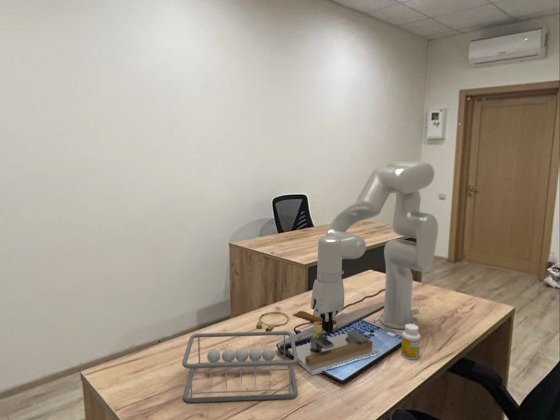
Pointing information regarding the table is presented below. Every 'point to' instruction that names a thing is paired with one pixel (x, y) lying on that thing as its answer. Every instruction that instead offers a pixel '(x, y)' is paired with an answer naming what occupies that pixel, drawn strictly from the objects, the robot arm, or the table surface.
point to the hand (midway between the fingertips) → (327, 331)
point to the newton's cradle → (241, 356)
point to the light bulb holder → (319, 338)
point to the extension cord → (270, 327)
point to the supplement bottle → (410, 342)
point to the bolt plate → (331, 362)
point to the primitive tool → (309, 317)
